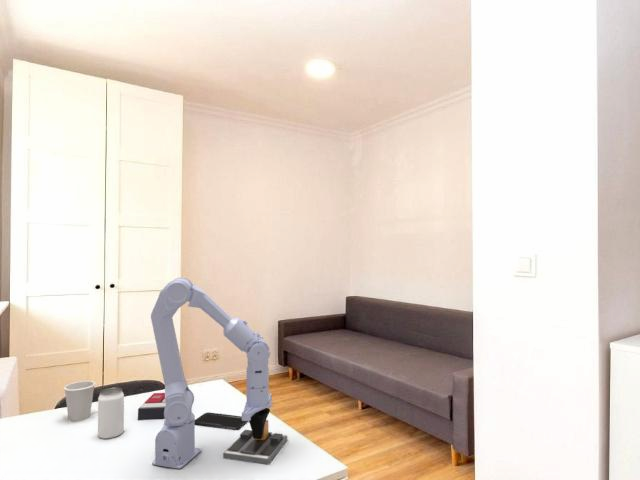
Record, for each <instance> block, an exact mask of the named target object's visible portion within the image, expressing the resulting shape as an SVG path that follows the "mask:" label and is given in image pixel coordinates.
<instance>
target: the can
mask: <svg viewBox="0 0 640 480" xmlns="http://www.w3.org/2000/svg"><path fill="white" fill-rule="evenodd" d="M124 426H125V393H124V391H123V388H121V387H110V388H106V389H102V390H101V391H100V392H99V396H98V398H97V436H98V437H99V438H100V439H103V440H110V439H114V438H117V437H120V436H121V435H122V434H123V433H124V431H125V429H124V428H125V427H124Z"/></svg>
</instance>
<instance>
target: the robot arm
mask: <svg viewBox="0 0 640 480" xmlns="http://www.w3.org/2000/svg"><path fill="white" fill-rule="evenodd" d="M187 302H188V305H187V307H189V308H190V307H191V308H195V309H196V308H197V309H200V310H202V311H203V312H204V313H205V314H207V315H208V316H209V317H210V318H211V319H212V320H214V322H216V323H218V325H220V326H221V327H222V329H223V336H224V337H226V339H227V340H229V342H230V343H232V344H233V345H234V346H235V347H236V348H237V349H238V350H240V351H241V352H244V353H245V354H246V359H247V366H246V402H245V405H244V409H243V410H242V412H241V416H242V421H248V423H249V425H250V430H252V434H253V438H254V439H261V438H262V436H263V430H264V426H265V422H266V420H268V419H267V418H268V416H269V415H270V413H271V410H270V409H271V408H272V407H273V406H274V402H272V401H273V398H272V396H273V395H272V393H271V392H269V391H270V390H269V389H270V388H269V387H270V385H269V383H270V381H269V379H270V376H269V374H270V371H269V370H270V367H269V359H270V356H271V351H270V348H269V346H268V343H267V341H266V339H264V337H263V336H261V334H260V333H259V332H255V331H254V330H253V329H252V328H251V327H250V326H249V325H248V321H247V320H246V319H241V318H239V317H236V318H233V317H231V316H230V315H229V314H228V313H227V312H226V311H225V310H224V309H223V308H222V307H221V306H220V305H219V304H218V303H217V302H216V301H215V300H214V299H213V298H212V297H211V296H210V295H209V294H208V293H207V292H205V291H204V290H203V289H202V288H201V287H200V286H198V285H196V284H193V282H192V281H191V280H190V279H188V278H186V277H177V278H174V280H171V281H169V282H168V283H167V284H166V285H165V286H164V287H163V288H162V290H161V291H159V294H158V297H157V299H156V302H155V303H154V307H153V309H152V311H151V313H150V319H151V324H152V325H151V326H152V329H153V334H154V339H155V344H156V349H157V353H158V355H157V356H158V358H159V364H160V368H161V374H162V379H163V383H164V393H165V401H166V406H165V410H164V417H165V419H163V422H164V423H163V425H162V428H161V430H160V431H158V432H157V434H156V436H155V439H154V442H155V443H154V445H155V446H154V449H155V450H154V460H153V461H152V462H151V465H153V466H159V467H167V468H171V469H182V468H183V467H185V466H186V465H187V464H188V463H189V462H190V461H191V460H193V459H194V458H195V457H196V456H198V454H200V453H201V452H202V449H203V448H202V447H201V448H200V447H196V446H195V443H196V442H195V441H196V439H195V437H196V436H195V435H196V434H195V433H196V432H195V431H196V430H195V429H196V427H195V426H196V425H195V420H196V416H195V414H194V413H193V412H192V411H193V410H192V408H193V404H194V401H195V395H194V393H193V390H191V389H190V388H189V386H188V382H187V379H186V377H185V372H184V368H183V367H184V366H183V363H182V358H181V353H180V349H179V344H178V340H177V339H178V338H177V334H176V329H175V325H174V319H173V317H174V315H175V314H176V313H177V311H179V309H180V308H181V307H182V306H184V305H185V304H186V303H187Z"/></svg>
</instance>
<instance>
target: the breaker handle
mask: <svg viewBox="0 0 640 480" xmlns="http://www.w3.org/2000/svg"><path fill="white" fill-rule="evenodd" d="M268 432H269V420H268V419H266V422H265V426H264V430H263V436H262V438H261V439H257V440H265V439H266V438H267V436H268Z"/></svg>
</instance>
